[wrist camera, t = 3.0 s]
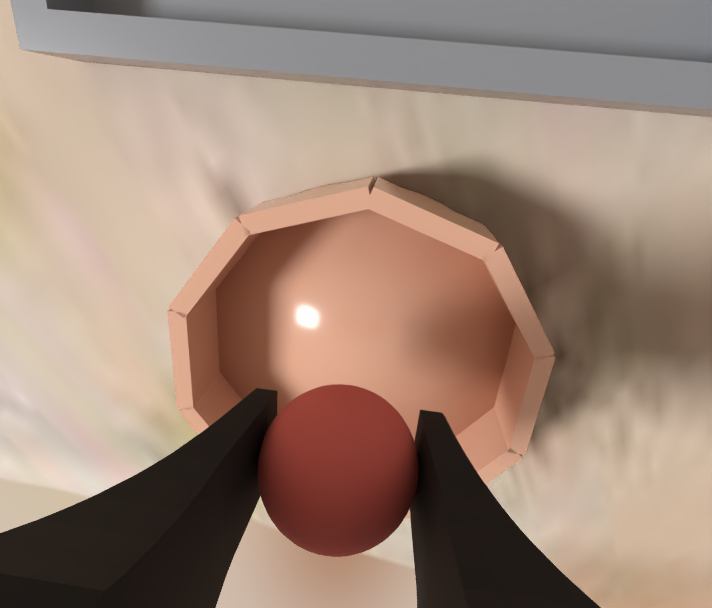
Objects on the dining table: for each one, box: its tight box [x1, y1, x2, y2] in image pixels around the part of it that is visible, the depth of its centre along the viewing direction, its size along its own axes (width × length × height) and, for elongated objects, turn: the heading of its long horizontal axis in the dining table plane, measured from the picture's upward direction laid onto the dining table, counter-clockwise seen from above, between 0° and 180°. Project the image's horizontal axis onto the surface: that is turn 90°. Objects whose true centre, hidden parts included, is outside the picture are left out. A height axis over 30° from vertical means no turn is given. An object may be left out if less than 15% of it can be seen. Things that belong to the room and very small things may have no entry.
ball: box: [258, 384, 419, 557], centre depth 11 cm, size 4×4×4 cm
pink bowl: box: [168, 177, 555, 518], centre depth 16 cm, size 12×13×3 cm
